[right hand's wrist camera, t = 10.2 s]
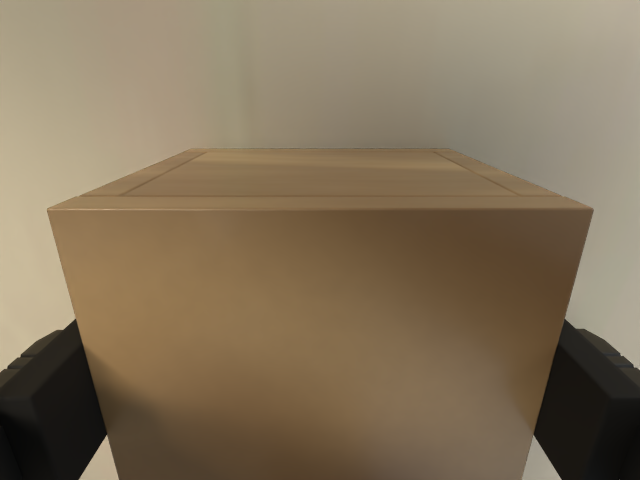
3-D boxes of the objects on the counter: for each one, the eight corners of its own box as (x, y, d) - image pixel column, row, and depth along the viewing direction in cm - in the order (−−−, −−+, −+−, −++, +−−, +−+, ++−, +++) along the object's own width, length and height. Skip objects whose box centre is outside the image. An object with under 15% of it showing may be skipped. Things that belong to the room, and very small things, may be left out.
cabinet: (412, 459, 22) (468, 678, 14) (227, 459, 22) (171, 678, 14) (450, 148, 15) (595, 208, 7) (189, 148, 15) (45, 208, 7)
